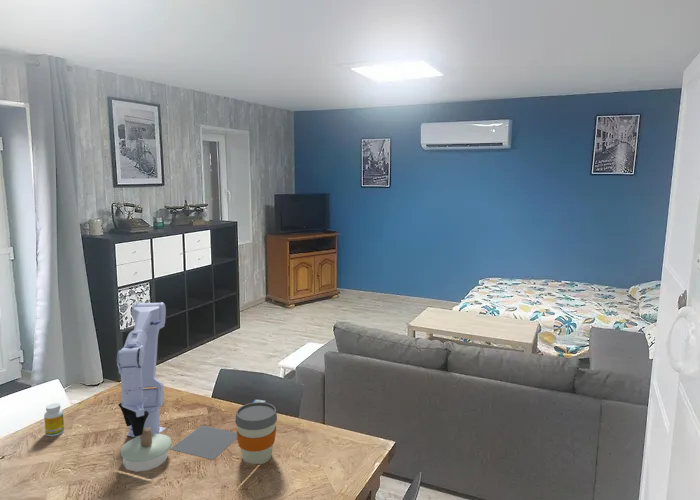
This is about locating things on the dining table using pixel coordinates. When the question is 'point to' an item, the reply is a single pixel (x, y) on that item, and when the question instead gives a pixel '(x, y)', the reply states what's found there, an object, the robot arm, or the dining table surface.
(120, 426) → the dining table surface
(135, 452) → the lid
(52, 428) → the supplement bottle
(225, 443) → the mat
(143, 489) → the dining table surface
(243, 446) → the reusable coffee cup
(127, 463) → the bowl
